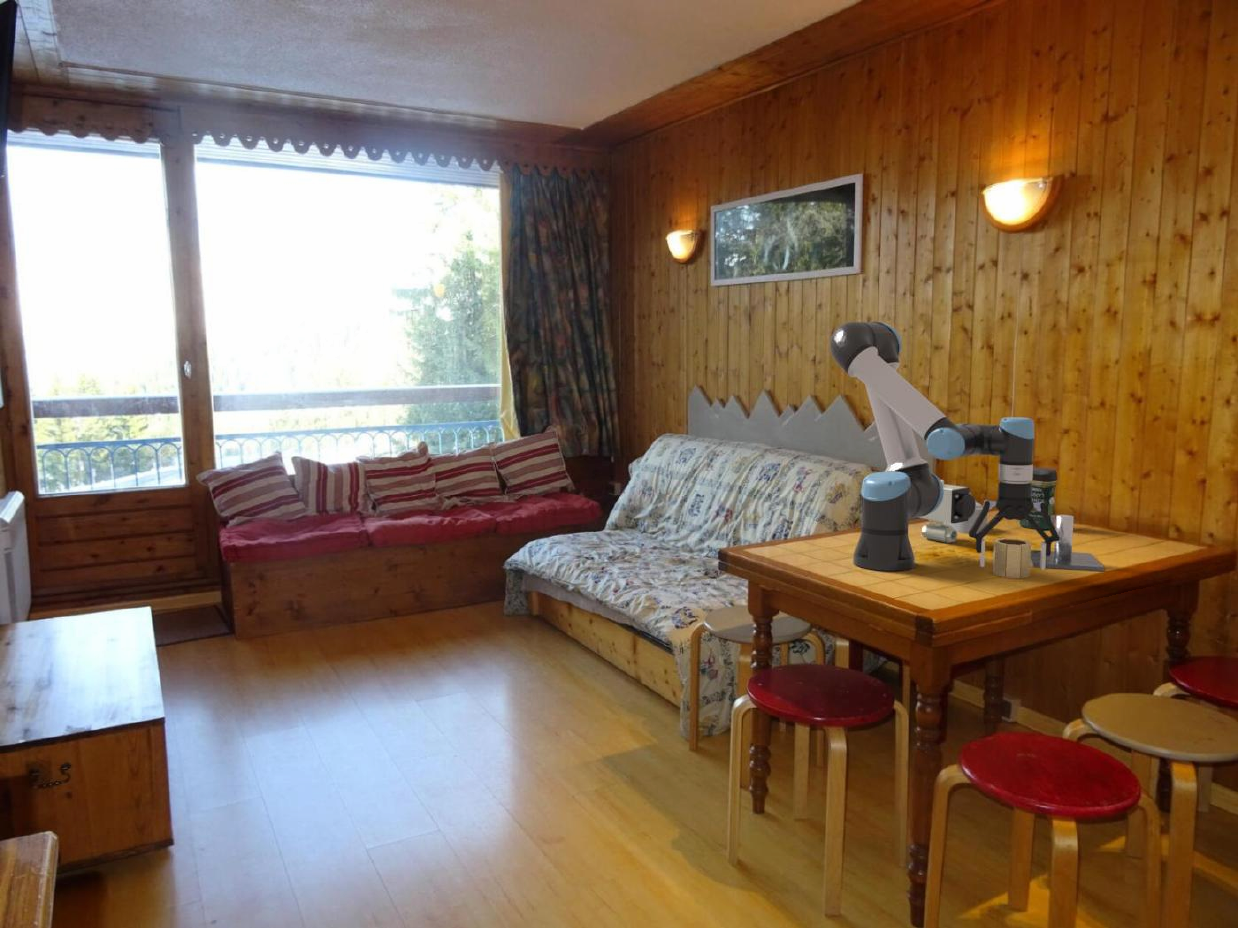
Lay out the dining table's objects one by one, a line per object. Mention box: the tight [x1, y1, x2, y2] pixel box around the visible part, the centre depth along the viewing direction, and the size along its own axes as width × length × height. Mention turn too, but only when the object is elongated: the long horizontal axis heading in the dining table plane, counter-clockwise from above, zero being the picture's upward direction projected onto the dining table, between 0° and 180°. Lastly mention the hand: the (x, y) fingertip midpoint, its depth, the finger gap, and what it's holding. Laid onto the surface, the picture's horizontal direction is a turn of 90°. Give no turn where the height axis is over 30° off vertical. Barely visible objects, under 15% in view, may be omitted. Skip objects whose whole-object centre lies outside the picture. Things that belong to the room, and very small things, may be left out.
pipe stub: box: [1030, 514, 1105, 572], centre depth 228 cm, size 16×16×12 cm
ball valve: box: [916, 479, 977, 544], centre depth 255 cm, size 18×8×18 cm, turn 36°
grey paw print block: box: [944, 500, 988, 534], centre depth 272 cm, size 10×13×9 cm
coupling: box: [992, 537, 1032, 579], centre depth 217 cm, size 8×8×8 cm
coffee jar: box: [1019, 466, 1058, 530], centre depth 272 cm, size 10×8×19 cm
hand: (1012, 567), depth 217 cm, fingers open, 13 cm apart
